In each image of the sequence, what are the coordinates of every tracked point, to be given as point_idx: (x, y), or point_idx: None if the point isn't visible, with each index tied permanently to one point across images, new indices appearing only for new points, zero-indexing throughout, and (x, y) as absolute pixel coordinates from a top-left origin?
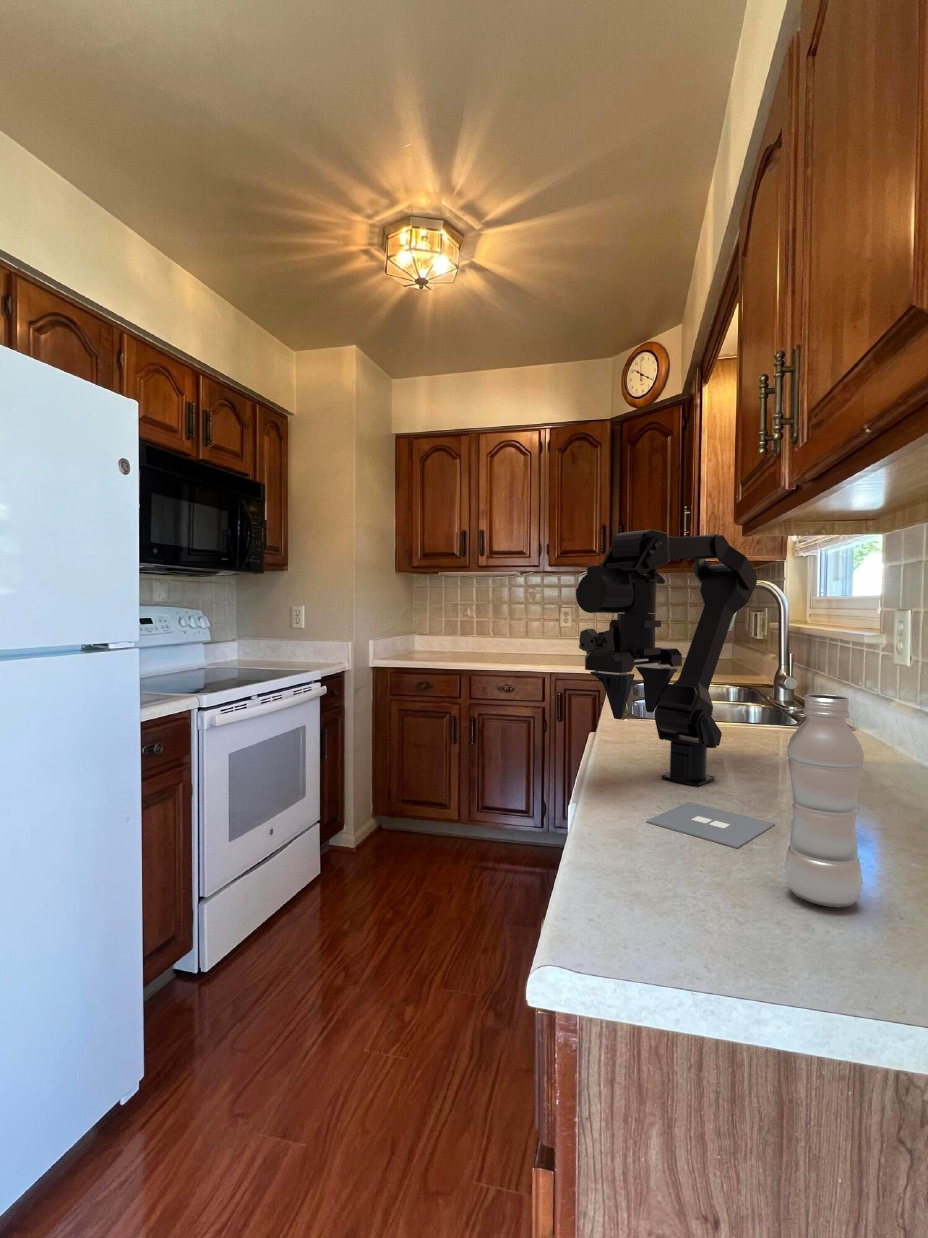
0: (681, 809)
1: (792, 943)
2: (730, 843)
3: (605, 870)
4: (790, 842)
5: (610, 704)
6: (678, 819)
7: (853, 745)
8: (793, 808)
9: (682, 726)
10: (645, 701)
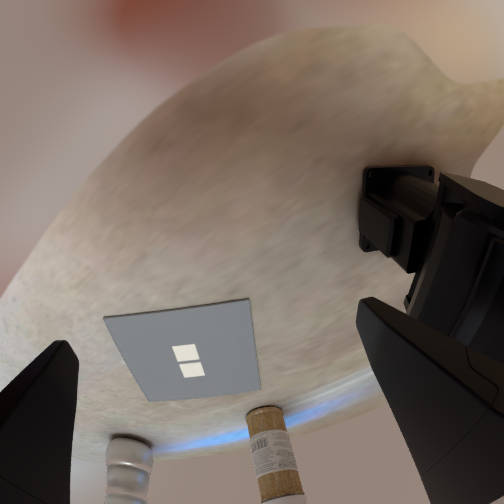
0: (199, 316)
1: (74, 439)
2: (149, 396)
3: (3, 357)
4: (110, 467)
5: (15, 382)
6: (153, 338)
7: None
8: (108, 490)
9: (414, 311)
10: (386, 330)
